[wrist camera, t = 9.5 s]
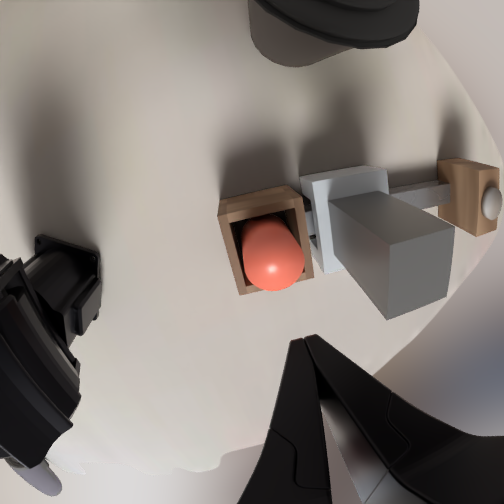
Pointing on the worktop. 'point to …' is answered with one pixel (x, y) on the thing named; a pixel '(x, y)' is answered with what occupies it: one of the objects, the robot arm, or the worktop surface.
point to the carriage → (378, 239)
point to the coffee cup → (327, 27)
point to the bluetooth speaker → (38, 476)
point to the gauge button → (270, 253)
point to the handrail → (405, 198)
